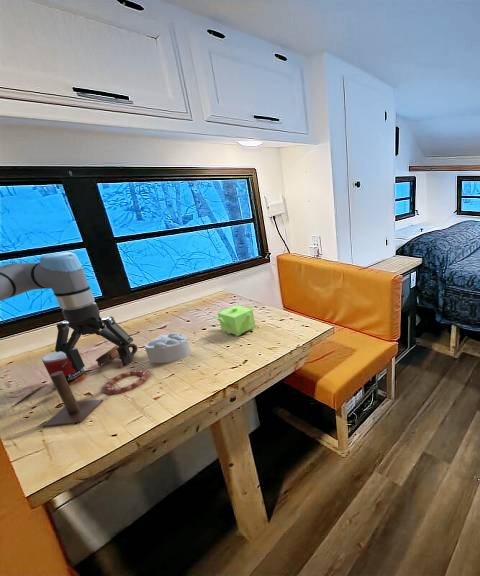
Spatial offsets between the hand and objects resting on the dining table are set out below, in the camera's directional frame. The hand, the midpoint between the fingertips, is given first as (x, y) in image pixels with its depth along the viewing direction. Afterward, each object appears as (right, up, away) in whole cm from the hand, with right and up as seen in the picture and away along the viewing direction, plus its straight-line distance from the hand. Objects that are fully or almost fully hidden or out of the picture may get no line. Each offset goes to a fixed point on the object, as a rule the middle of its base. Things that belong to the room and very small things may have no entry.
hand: (104, 366), depth 97 cm
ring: (+5, -6, +3) cm, 8 cm away
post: (+1, -12, -10) cm, 15 cm away
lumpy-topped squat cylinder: (+9, -2, +18) cm, 21 cm away
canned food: (-16, -7, +5) cm, 18 cm away
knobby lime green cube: (+25, +6, +37) cm, 45 cm away
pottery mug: (-7, -3, +15) cm, 17 cm away
